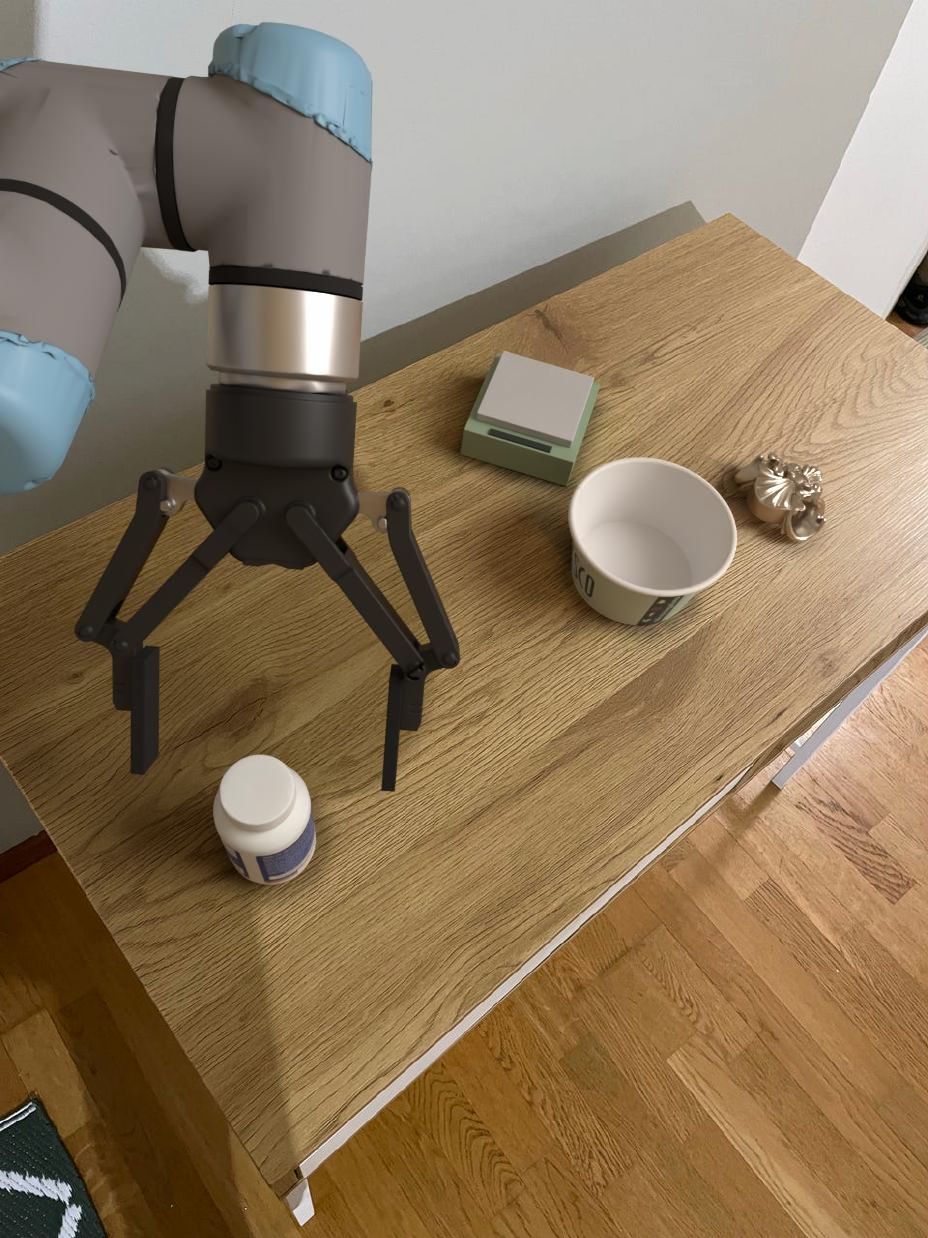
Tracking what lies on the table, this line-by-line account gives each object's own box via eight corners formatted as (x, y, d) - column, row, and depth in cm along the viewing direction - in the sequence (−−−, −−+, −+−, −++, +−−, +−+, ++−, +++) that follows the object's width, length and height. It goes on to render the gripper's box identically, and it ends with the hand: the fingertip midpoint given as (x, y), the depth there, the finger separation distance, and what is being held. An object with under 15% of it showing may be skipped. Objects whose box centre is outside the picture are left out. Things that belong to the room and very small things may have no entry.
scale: (460, 454, 76) (464, 422, 72) (492, 379, 80) (497, 345, 77) (566, 486, 75) (575, 455, 72) (592, 409, 79) (602, 376, 76)
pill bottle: (326, 811, 60) (319, 752, 51) (303, 894, 57) (292, 847, 48) (243, 794, 60) (222, 732, 51) (217, 877, 57) (191, 826, 49)
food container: (738, 614, 70) (770, 565, 64) (596, 663, 67) (617, 616, 61) (661, 493, 75) (684, 439, 70) (527, 533, 72) (540, 479, 67)
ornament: (842, 521, 76) (863, 493, 72) (782, 557, 73) (800, 529, 70) (775, 455, 79) (791, 425, 75) (715, 487, 76) (729, 457, 73)
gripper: (521, 404, 52) (485, 762, 57) (60, 362, 50) (67, 732, 55) (535, 408, 44) (493, 818, 49) (-3, 360, 43) (11, 785, 48)
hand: (267, 773), depth 53 cm, fingers open, 13 cm apart
